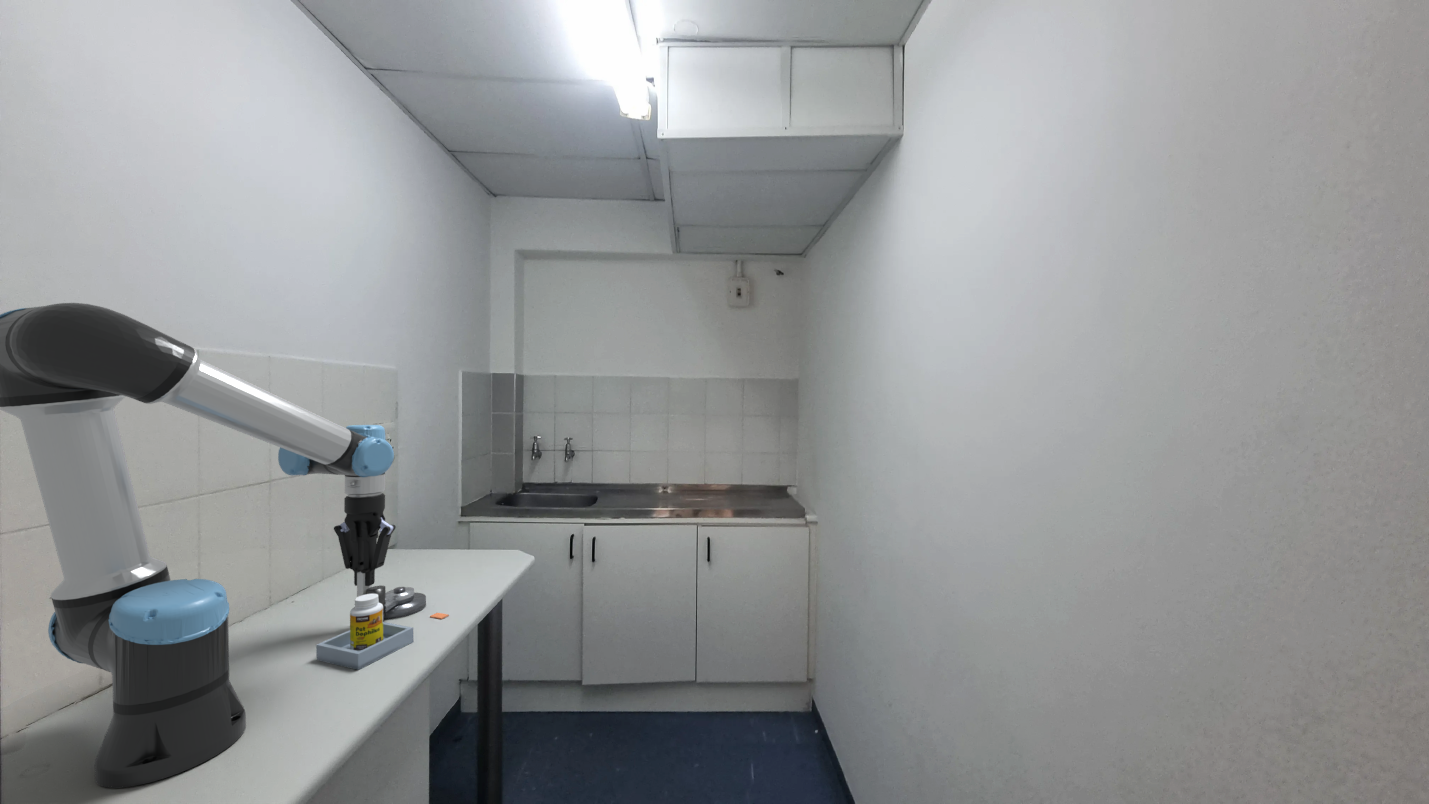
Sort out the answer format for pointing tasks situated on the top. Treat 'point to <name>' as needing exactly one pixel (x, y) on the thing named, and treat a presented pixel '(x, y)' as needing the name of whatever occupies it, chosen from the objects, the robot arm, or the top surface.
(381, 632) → the supplement bottle
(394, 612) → the crank housing
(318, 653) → the tray
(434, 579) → the top surface
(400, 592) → the crank
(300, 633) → the top surface
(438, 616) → the orange flat block
